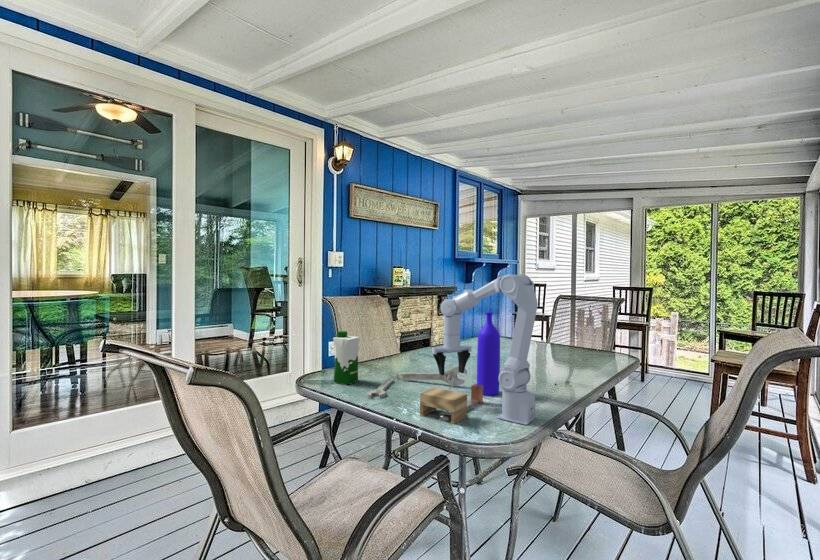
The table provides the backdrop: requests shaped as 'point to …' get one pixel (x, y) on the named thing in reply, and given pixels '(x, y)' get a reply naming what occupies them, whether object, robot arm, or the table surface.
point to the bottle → (488, 357)
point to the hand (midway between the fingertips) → (451, 373)
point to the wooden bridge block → (444, 403)
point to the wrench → (435, 376)
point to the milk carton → (346, 358)
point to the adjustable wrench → (380, 389)
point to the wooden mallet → (475, 396)
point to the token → (445, 416)
